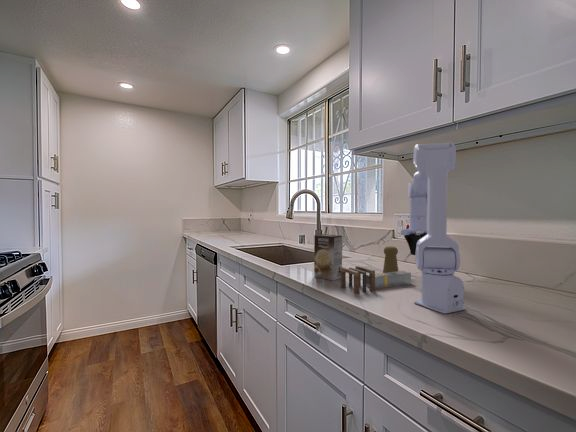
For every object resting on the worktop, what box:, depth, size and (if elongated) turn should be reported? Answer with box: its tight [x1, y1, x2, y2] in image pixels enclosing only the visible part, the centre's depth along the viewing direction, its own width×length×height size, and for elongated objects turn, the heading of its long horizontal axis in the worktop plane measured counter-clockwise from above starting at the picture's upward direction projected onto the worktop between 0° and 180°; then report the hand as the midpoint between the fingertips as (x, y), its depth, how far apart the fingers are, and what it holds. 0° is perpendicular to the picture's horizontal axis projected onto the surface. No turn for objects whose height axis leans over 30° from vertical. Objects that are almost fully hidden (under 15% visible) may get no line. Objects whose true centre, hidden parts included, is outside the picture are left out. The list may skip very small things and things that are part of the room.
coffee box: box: [313, 233, 343, 281], centre depth 110 cm, size 9×6×16 cm
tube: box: [366, 270, 412, 290], centre depth 99 cm, size 16×4×4 cm, turn 113°
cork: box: [382, 246, 399, 273], centre depth 114 cm, size 6×6×11 cm
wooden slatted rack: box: [339, 265, 376, 295], centre depth 93 cm, size 8×7×6 cm
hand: (418, 254), depth 104 cm, fingers open, 3 cm apart
